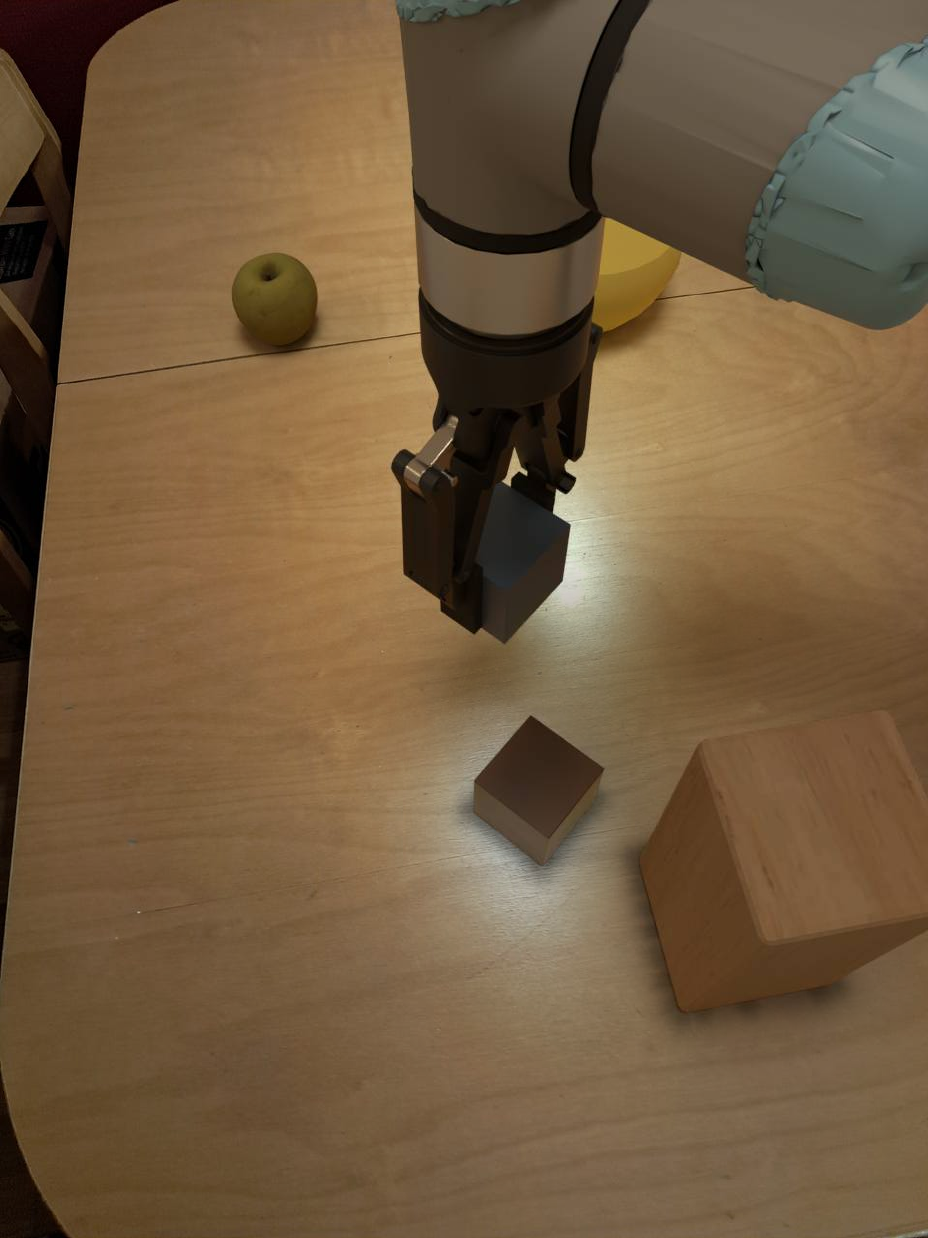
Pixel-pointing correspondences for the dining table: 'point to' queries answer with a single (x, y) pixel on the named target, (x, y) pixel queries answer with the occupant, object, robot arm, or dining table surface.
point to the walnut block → (536, 789)
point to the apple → (275, 298)
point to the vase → (630, 274)
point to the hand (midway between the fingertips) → (495, 583)
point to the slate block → (518, 560)
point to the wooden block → (788, 859)
